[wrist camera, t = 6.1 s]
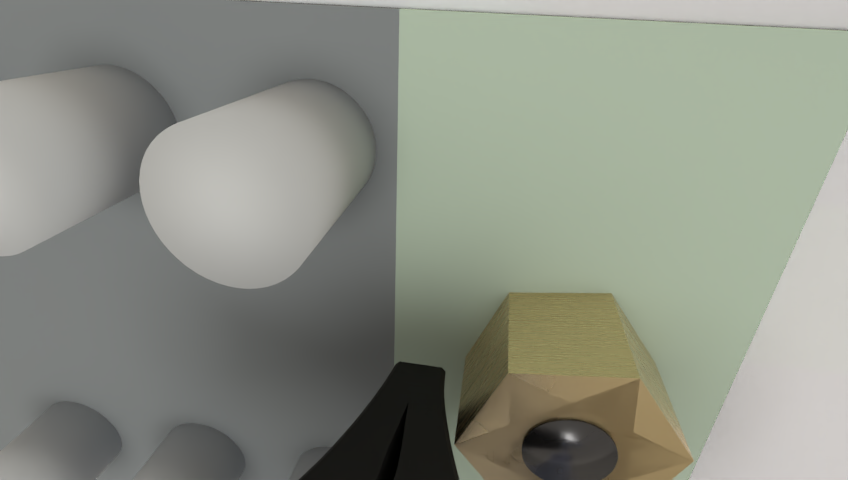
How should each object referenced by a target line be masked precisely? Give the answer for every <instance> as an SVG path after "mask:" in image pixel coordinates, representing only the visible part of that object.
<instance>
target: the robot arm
mask: <svg viewBox="0 0 848 480" xmlns="http://www.w3.org/2000/svg"><path fill="white" fill-rule="evenodd" d="M445 374H446V371H445V370H444V369H443V368H442V367H435V366H428V365H422V364H415V363H408V362H401V361H400V362H398V363H396V364H395V366H394V368H393V369H392V371H391V373H390V374H389V376H388V377H387V379H386V380H385V382H384V383H383V385H382V386H381V388H380V389H379V390H378V392H377V393H376V394H375V396H374V397H373V399H372V400H371V401H370V402H369V404H368V405H367V406H366V407H365V409H364V410H363V411H362V413H361V414H360V415H359V416H358V418H357V419H356V420H355V421H354V422H353V424H352V425H351V426H350V427H349V428H348V429H347V430H346V432H345V433H344V434H343V435H342V436H341V437H340V438H339V439H338V441H337V442H336V443H335V444H334V445H333V446H332V447H331V448H330V449H329V450H328V451H327V452H326V453H325V454H324V456H323V457H322V458H321V459H320V460H319V461H318V462H317V463H316V464H315V465H313V466H312V467H311V468H310V469H309V470H308V471H307V472H306V473H305V474H304V475H303V476H302V477H301V478H300V479H299V480H459V476H458V472H457V468H456V464H455V460H454V456H453V451H452V446H451V442H450V436H449V430H448V424H447V418H446V410H445V399H444V386H445Z"/></svg>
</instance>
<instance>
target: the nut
mask: <svg viewBox="0 0 848 480" xmlns="http://www.w3.org/2000/svg"><path fill="white" fill-rule="evenodd" d="M454 445H455V446H456V447H457V449H458V450H459V451H460V452H461V453H462V454H463V455H464V457H465V458H466V459H467V460H468V461H469V462H470V464H471V465H472V466H473V467H474V468H475V469H476V471H477V472H478V473H479V474H480V475H481V476H482V477H483V479H484V480H672V479H673V478H674V477H675V476H677V475H678V474H679V473H680V472H682V471H683V470H684V469H685V468H686V467H688V466H689V465H690V464H691V463H692V462H694V460H693V457H692V455H691V452H690V450H689V447H688V444H687V442H686V439H685V437H684V434H683V432H682V429H681V427H680V424H679V422H678V419H677V417H676V414H675V411H674V409H673V406H672V404H671V401H670V399H669V396H668V394H667V391H666V389H665V386H664V384H663V381H662V378H661V376H660V373H659V371H658V368H657V366H656V363H655V362H654V360H653V358H652V357H651V355H650V354H649V352H648V350H647V349H646V347H645V346H644V344H643V343H642V341H641V339H640V338H639V336H638V335H637V333H636V331H635V330H634V328H633V327H632V325H631V323H630V322H629V320H628V319H627V317H626V315H625V314H624V312H623V311H622V309H621V308H620V306H619V304H618V303H617V301H616V300H615V298H614V296H613V295H612V293H514V292H509V293H508V295H507V296H506V298H505V299H504V301H503V302H502V304H501V305H500V307H499V308H498V310H497V311H496V312H495V314H494V315H493V317H492V318H491V320H490V321H489V323H488V324H487V326H486V327H485V329H484V330H483V332H482V333H481V335H480V336H479V338H478V339H477V341H476V342H475V344H474V345H473V347H472V348H471V350H470V351H469V353H468V354H467V355H466V357H465V365H464V373H463V380H462V388H461V396H460V404H459V411H458V419H457V427H456V434H455V442H454Z"/></svg>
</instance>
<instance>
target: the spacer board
mask: <svg viewBox="0 0 848 480" xmlns="http://www.w3.org/2000/svg"><path fill="white" fill-rule="evenodd" d="M847 130H848V30H829V29H809V28H789V27H768V26H748V25H728V24H707V23H687V22H667V21H647V20H626V19H606V18H586V17H565V16H545V15H525V14H505V13H484V12H464V11H444V10H424V9H403V8H383V7H363V6H342V5H322V4H302V3H282V2H261V1H241V0H0V480H299V479H300V478H301V477H302V476H303V475H304V474H305V473H306V472H307V471H308V470H309V469H310V468H311V467H312V466H313V465H315V464H316V463H317V462H318V461H319V460H320V459H321V458H322V457H323V456H324V454H325V453H326V452H327V451H328V450H329V449H330V448H331V447H332V446H333V445H334V444H335V443H336V442H337V441H338V439H339V438H340V437H341V436H342V435H343V434H344V433H345V432H346V430H347V429H348V428H349V427H350V426H351V425H352V424H353V422H354V421H355V420H356V419H357V418H358V416H359V415H360V414H361V413H362V411H363V410H364V409H365V407H366V406H367V405H368V404H369V402H370V401H371V400H372V399H373V397H374V396H375V394H376V393H377V392H378V390H379V389H380V388H381V386H382V385H383V383H384V382H385V380H386V379H387V377H388V376H389V374H390V373H391V371H392V369H393V368H394V366H395V364H396V363H398V362H400V361H401V362H408V363H415V364H422V365H428V366H435V367H442V368H443V369H444V370H445V371H446V374H445V386H444V399H445V410H446V418H447V424H448V430H449V436H450V442H451V446H452V451H453V456H454V460H455V464H456V468H457V472H458V476H459V480H484V479H483V477H482V476H481V475H480V474H479V473H478V472H477V471H476V469H475V468H474V467H473V466H472V465H471V464H470V462H469V461H468V460H467V459H466V458H465V457H464V455H463V454H462V453H461V452H460V451H459V450H458V449H457V447H456V446H455V445H454V442H455V434H456V427H457V419H458V411H459V404H460V396H461V388H462V380H463V373H464V365H465V357H466V355H467V354H468V353H469V351H470V350H471V348H472V347H473V345H474V344H475V342H476V341H477V339H478V338H479V336H480V335H481V333H482V332H483V330H484V329H485V327H486V326H487V324H488V323H489V321H490V320H491V318H492V317H493V315H494V314H495V312H496V311H497V310H498V308H499V307H500V305H501V304H502V302H503V301H504V299H505V298H506V296H507V295H508V293H509V292H514V293H612V295H613V296H614V298H615V300H616V301H617V303H618V304H619V306H620V308H621V309H622V311H623V312H624V314H625V315H626V317H627V319H628V320H629V322H630V323H631V325H632V327H633V328H634V330H635V331H636V333H637V335H638V336H639V338H640V339H641V341H642V343H643V344H644V346H645V347H646V349H647V350H648V352H649V354H650V355H651V357H652V358H653V360H654V362H655V363H656V366H657V368H658V371H659V373H660V376H661V378H662V381H663V384H664V386H665V389H666V391H667V394H668V396H669V399H670V401H671V404H672V406H673V409H674V411H675V414H676V417H677V419H678V422H679V424H680V427H681V429H682V432H683V434H684V437H685V439H686V442H687V444H688V447H689V450H690V452H691V455H692V457H693V460H694V462H692V463H691V464H690V465H689V466H688V467H686V468H685V469H684V470H683V471H682V472H680V473H679V474H678V475H677V476H675V477H674V478H673V479H672V480H689V478H690V475H691V473H692V471H693V469H694V467H695V464H696V462H697V460H698V458H699V456H700V453H701V451H702V449H703V447H704V445H705V442H706V440H707V438H708V436H709V434H710V431H711V429H712V427H713V425H714V423H715V420H716V418H717V416H718V414H719V412H720V409H721V407H722V405H723V403H724V401H725V398H726V396H727V394H728V392H729V390H730V387H731V385H732V383H733V381H734V379H735V376H736V374H737V372H738V370H739V368H740V365H741V363H742V361H743V359H744V357H745V354H746V352H747V350H748V348H749V346H750V343H751V341H752V339H753V337H754V335H755V332H756V330H757V328H758V326H759V324H760V321H761V319H762V317H763V315H764V313H765V310H766V308H767V306H768V304H769V302H770V299H771V297H772V295H773V293H774V291H775V288H776V286H777V284H778V282H779V280H780V277H781V275H782V273H783V271H784V269H785V266H786V264H787V262H788V260H789V258H790V255H791V253H792V251H793V249H794V247H795V244H796V242H797V240H798V238H799V235H800V233H801V231H802V229H803V227H804V224H805V222H806V220H807V218H808V216H809V213H810V211H811V209H812V207H813V205H814V202H815V200H816V198H817V196H818V194H819V191H820V189H821V187H822V185H823V183H824V180H825V178H826V176H827V174H828V172H829V169H830V167H831V165H832V163H833V161H834V158H835V156H836V154H837V152H838V150H839V147H840V145H841V143H842V141H843V139H844V136H845V134H846V132H847Z"/></svg>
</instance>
